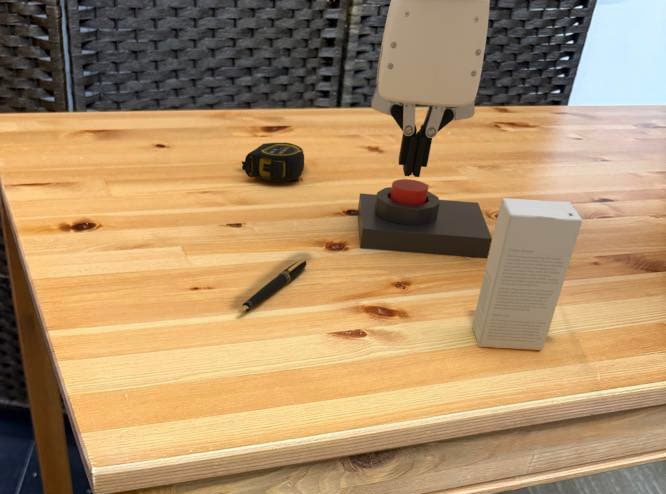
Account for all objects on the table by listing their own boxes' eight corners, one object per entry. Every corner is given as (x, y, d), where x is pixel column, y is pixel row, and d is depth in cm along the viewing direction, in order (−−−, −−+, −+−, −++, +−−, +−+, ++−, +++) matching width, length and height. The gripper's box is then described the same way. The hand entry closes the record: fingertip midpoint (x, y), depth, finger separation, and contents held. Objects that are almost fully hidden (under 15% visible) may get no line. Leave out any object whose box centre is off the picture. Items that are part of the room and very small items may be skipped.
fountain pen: (242, 321, 75) (243, 306, 74) (231, 318, 75) (231, 303, 74) (310, 268, 85) (312, 254, 84) (300, 265, 85) (301, 251, 84)
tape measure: (262, 166, 108) (264, 136, 105) (310, 176, 106) (313, 145, 104) (241, 181, 103) (242, 150, 101) (290, 191, 101) (292, 160, 99)
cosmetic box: (532, 330, 77) (572, 201, 69) (542, 352, 74) (585, 219, 66) (469, 325, 77) (501, 195, 69) (476, 347, 74) (510, 214, 66)
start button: (423, 196, 92) (426, 180, 91) (427, 209, 89) (430, 192, 88) (388, 193, 92) (391, 177, 91) (390, 206, 89) (393, 189, 88)
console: (474, 221, 97) (481, 186, 95) (487, 258, 89) (496, 222, 86) (357, 212, 97) (362, 177, 95) (359, 248, 89) (365, 211, 87)
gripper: (519, -30, 79) (474, 167, 92) (366, -43, 79) (342, 156, 92) (533, -18, 74) (483, 190, 86) (369, -32, 74) (343, 178, 86)
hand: (411, 172), depth 89 cm, fingers closed
